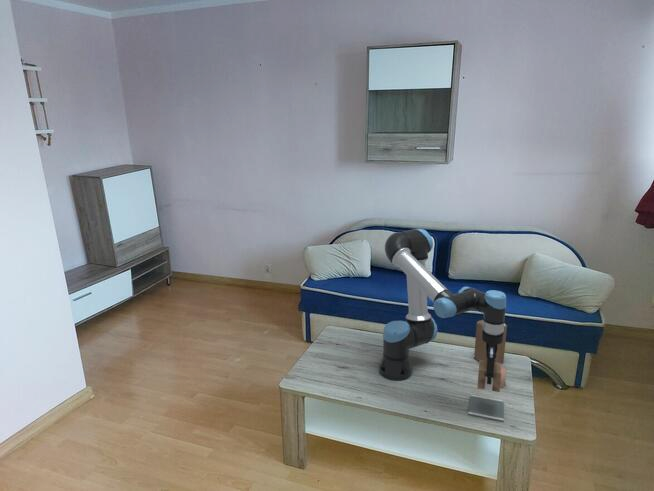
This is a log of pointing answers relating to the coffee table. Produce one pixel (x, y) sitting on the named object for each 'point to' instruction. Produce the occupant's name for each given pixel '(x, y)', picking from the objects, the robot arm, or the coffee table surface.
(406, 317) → the robot arm
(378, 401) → the coffee table surface
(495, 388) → the cube
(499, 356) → the wooden block
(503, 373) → the pink cylinder
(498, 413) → the mat
